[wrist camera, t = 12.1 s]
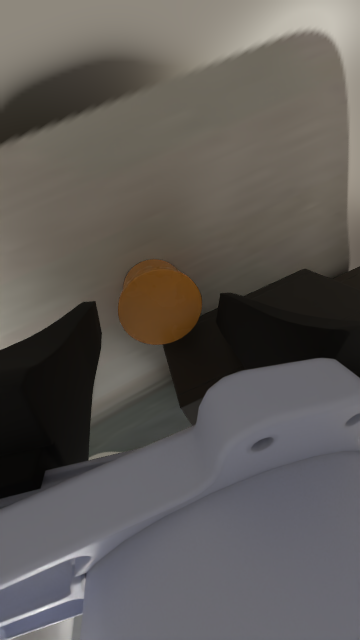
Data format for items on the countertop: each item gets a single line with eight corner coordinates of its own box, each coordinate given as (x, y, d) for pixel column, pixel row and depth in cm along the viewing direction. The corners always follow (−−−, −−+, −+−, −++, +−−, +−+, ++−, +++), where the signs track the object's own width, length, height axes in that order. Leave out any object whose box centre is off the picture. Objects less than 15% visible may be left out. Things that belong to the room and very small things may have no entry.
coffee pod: (199, 273, 15) (217, 291, 12) (168, 326, 16) (177, 352, 14) (136, 240, 12) (140, 252, 10) (108, 305, 14) (104, 332, 11)
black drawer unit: (304, 268, 17) (402, 305, 11) (302, 356, 23) (362, 409, 18) (159, 334, 17) (180, 408, 11) (198, 404, 23) (224, 474, 17)
